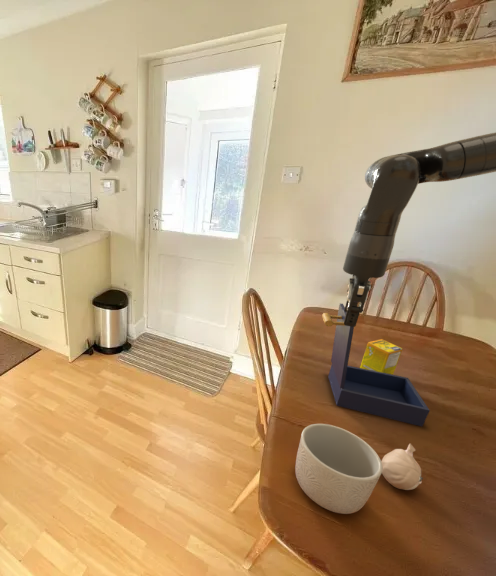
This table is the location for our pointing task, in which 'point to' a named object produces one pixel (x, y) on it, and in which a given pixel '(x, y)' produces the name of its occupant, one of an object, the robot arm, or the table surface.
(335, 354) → the cover
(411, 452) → the garlic bulb
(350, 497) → the planter
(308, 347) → the table surface
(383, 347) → the supplement box
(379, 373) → the hinged blue tray
